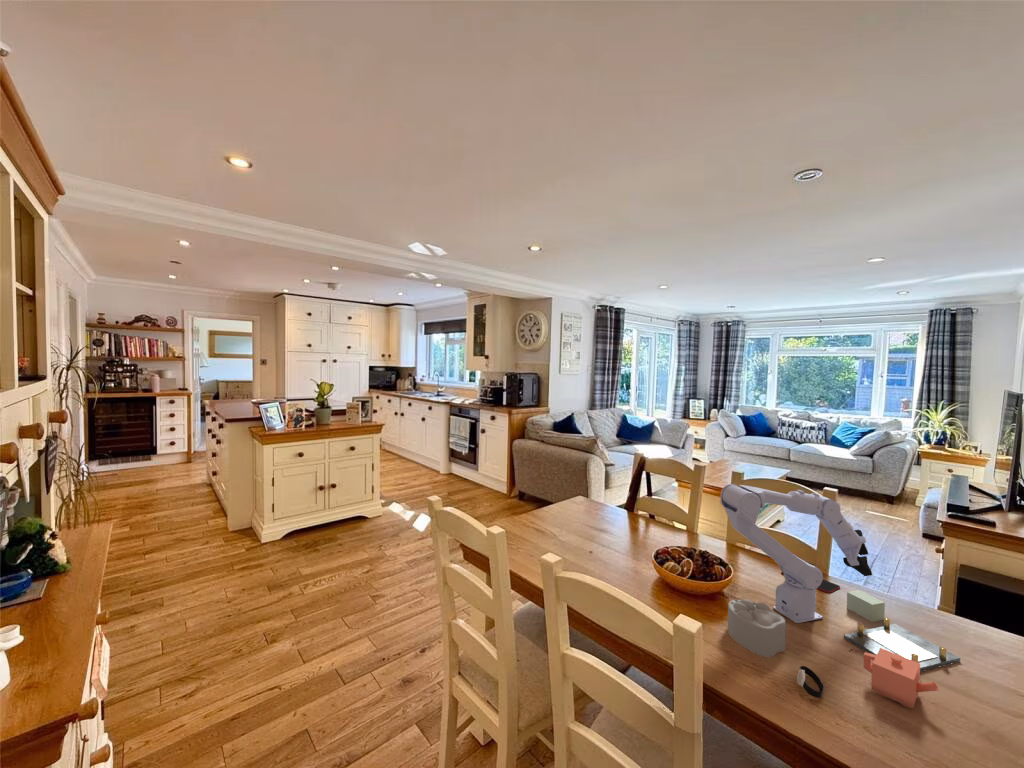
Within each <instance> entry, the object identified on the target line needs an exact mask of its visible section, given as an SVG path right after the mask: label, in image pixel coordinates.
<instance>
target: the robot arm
mask: <svg viewBox="0 0 1024 768" xmlns="http://www.w3.org/2000/svg"><path fill="white" fill-rule="evenodd" d="M719 499H720V500H719V503H720V505H721V506H722V508H723V509H724V510H725V513H726V515H727V519H728V521H729V522H730V525H731V526H730V527H732V529H734V530H735V531H736V532H737V533H739V534H740V535H741V536H743V537H744V538H745V539H747V540H748V541H749V542H750V543H751V544H753V545H754V546H755V547H756V548H758V549H759V550H761V551H762V552H763V553H764V554H766V555H767V557H769V558H771V559H772V560H773V561H774V563H776V564H777V565H778V567H779V570H780V571H781V572H783V573H784V575H783V577H784V581H783V583H780V584H778V585H777V586H776V588H775V605H772V609H774V610H775V611H777V613H778V612H779V613H780V615H781V614H782V615H783V616H784V617H786V618H788V619H789V620H790V621H792V622H793V623H795V624H800V623H801V624H802V623H805V622H810V621H811V622H812V621H816V620H822V619H823V615H822V614H819V613H818V612H816V590H818V589H817V587H819V586H820V584H821V583H822V580H824V575H823V572H822V571H821V570H820V569H819V568H818V567H816V566H814V565H812V564H810V563H809V562H807V561H805V560H803V559H801V558H800V557H798V556H797V555H796V554H794V553H792V552H791V551H789V550H788V549H787V548H786V547H784V546H783V545H782V544H780V543H779V542H778V541H777V540H776V539H775V538H773V537H772V536H770V535H769V533H767V532H765V531H764V530H763V529H762V528H761V527H759V526H758V525H757V524H756V523H757V519H758V516H759V513H760V510H761V509H764V508H765V505H766V504H771V505H779V506H785V507H786V508H787V509H788V510H789V511H791V512H795V513H799V514H805V515H811V516H816V518H817V519H818V520H819V522H820V523H821V524H822V526H823V527H824V528H825V529H826V531H827V532H828V534H829V535H830V536H831V537H832V539H833V540H834V542H835V543H836V545H837V546H838V548H839V549H840V551H841V552H842V554H843V555H844V556H845V557H843V558H842V559H843V563H844V565H845V566H846V567H849V568H852V569H854V570H855V571H856V572H858V573H859V574H860V575H862V576H864V577H870V576H873V572H872V570H871V568H870V566H869V563H868V558H867V555H869V551H868V549H867V547H866V544H865V543H867V541H866V540H867V539H866V537H865V536H863V532H862V530H860V529H855V528H854V526H853V525H852V524H851V522H848V521H847V519H846V518H845V517H844V515H843V514H842V513H841V505H840V503H839V502H836V501H835V500H834V499H832V498H828V497H825V496H824V495H820V494H819V493H815V492H812V493H806V492H805V491H804V490H801V489H796V490H791V491H789V492H788V493H783V492H778V491H774V490H770V489H766V488H761V487H756V486H751V485H746V484H745V485H744V484H739V485H737V484H735V483H729V484H726V485H725V486H724V487H722V489H721V491H720V498H719ZM859 555H860V556H859Z"/></svg>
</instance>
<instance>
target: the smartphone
mask: <svg viewBox="0 0 1024 768" xmlns="http://www.w3.org/2000/svg"><path fill="white" fill-rule="evenodd" d="M780 574H781V575H782V576H784V573H783V572H782V571H781V572H780ZM839 589H841V587H840V585H838V584H836V583H833V582H830V581H828V580H825V579H823V580H822V583H821V584H820V586H819V587H817V589H816V590H819V591H821V592H823V593H826V594H832V593H834V592H835V591H838V590H839Z"/></svg>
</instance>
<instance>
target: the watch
mask: <svg viewBox="0 0 1024 768" xmlns="http://www.w3.org/2000/svg"><path fill="white" fill-rule="evenodd" d="M806 675H807V676H808V677H809V678H810V679H812V680H813V681H814V682H815V684H816V685H817V688H818V690H815V689H814V688H812V687H811V686H809V684H808V683H807V681H806ZM796 682H797V684H798V685H799V686H800V687H802V688H803V690H804V691H805V692H806V693H807V694H809V695H810V696H812V697H813V698H821V697H822V694H823V691H824V688H825V687H824V684H823V682H822V681H821V679H820V677H819V676H818V675H817V674H816V672H814V671H813V670H812V669H810V668H809V667H807V666H805V665H801V666H800V667H799V669H798V672H797V676H796Z"/></svg>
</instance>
